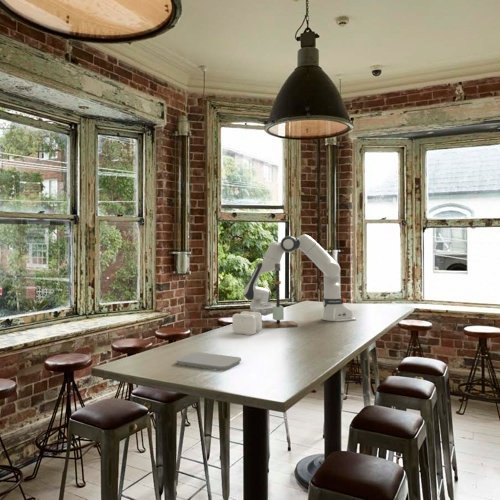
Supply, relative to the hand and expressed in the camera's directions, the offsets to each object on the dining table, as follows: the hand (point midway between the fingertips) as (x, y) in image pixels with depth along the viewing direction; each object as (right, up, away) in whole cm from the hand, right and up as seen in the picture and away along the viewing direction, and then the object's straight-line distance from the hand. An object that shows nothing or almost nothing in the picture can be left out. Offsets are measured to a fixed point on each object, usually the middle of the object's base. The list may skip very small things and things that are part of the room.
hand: (273, 311), depth 289 cm
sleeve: (+3, -4, -6) cm, 8 cm away
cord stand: (+3, -8, -6) cm, 11 cm away
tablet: (-33, -11, -91) cm, 97 cm away
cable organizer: (-16, -9, -27) cm, 33 cm away
